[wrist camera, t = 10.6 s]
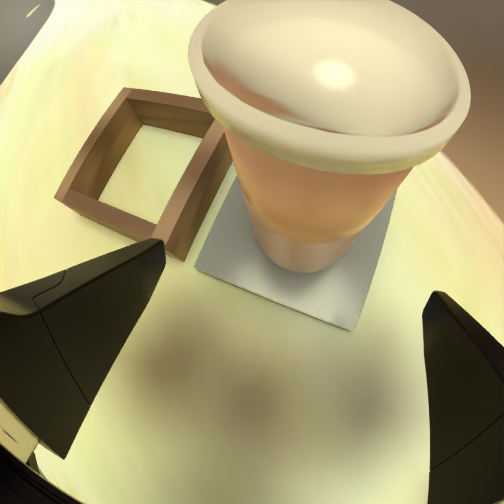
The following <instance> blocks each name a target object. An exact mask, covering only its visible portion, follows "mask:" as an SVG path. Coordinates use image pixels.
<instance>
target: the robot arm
mask: <svg viewBox="0 0 504 504" xmlns="http://www.w3.org/2000/svg"><path fill="white" fill-rule="evenodd" d="M165 264H166V257H165V244H164V241H163V240H162V239H157V238H149V239H147V240H144V241H141V242H138V243H135V244H132V245H130V246H127V247H124V248H121V249H118V250H116V251H113V252H110V253H107V254H105V255H102V256H99V257H97V258H94V259H91V260H89V261H86V262H83V263H81V264H78V265H76V266H73V267H70V268H68V269H67V270H63V271H60V272H57V273H55V274H52V275H50V276H47V277H44V278H41V279H38V280H36V281H33V282H30V283H27V284H24V285H21V286H18V287H15V288H12V289H9V290H6V291H3V292H0V504H85V503H83V502H81V501H80V500H78V499H76V498H75V497H73V496H71V495H70V494H68V493H66V492H65V491H63V490H62V489H60V488H59V487H57V486H56V485H54V484H53V483H51V482H50V481H48V480H47V479H45V478H44V477H43V476H41V475H40V473H39V469H38V465H37V461H36V457H35V453H34V450H35V448H36V447H37V445H38V443H39V444H41V445H42V446H44V447H45V448H46V449H48V450H49V451H51V452H52V453H54V454H55V455H57V456H59V457H60V458H62V459H63V460H64V459H65V458H66V456H67V454H68V452H69V450H70V447H71V445H72V443H73V441H74V439H75V437H76V435H77V433H78V431H79V429H80V427H81V425H82V423H83V421H84V419H85V417H86V415H87V413H88V411H89V409H90V407H91V406H90V405H92V403H93V401H94V399H95V397H96V395H97V393H98V391H99V389H100V387H101V385H102V384H103V382H104V380H105V378H106V376H107V374H108V372H109V371H110V369H111V367H112V365H113V363H114V361H115V360H116V358H117V356H118V354H119V352H120V351H121V349H122V347H123V345H124V344H125V342H126V340H127V338H128V337H129V335H130V333H131V331H132V330H133V328H134V326H135V325H136V323H137V321H138V319H139V318H140V316H141V314H142V313H143V311H144V309H145V308H146V306H147V304H148V302H149V300H150V298H151V296H152V294H153V292H154V289H155V287H156V285H157V283H158V281H159V279H160V276H161V274H162V272H163V270H164V268H165ZM422 321H423V341H424V359H425V368H426V377H427V388H428V401H429V419H430V472H429V490H428V503H427V504H504V347H503V346H502V345H501V344H500V343H499V342H498V341H497V340H496V339H495V338H494V337H493V336H492V335H491V334H490V333H489V332H488V331H487V330H486V329H485V328H484V327H483V326H482V325H480V324H479V323H478V322H477V321H476V320H475V319H474V318H473V317H472V316H471V315H470V314H469V313H468V312H466V311H465V310H464V309H463V308H462V307H461V306H460V305H459V304H458V303H456V302H455V301H454V300H453V299H452V298H451V297H450V296H448V295H447V294H446V293H445V292H441V291H433V292H432V294H431V296H430V298H429V300H428V302H427V304H426V306H425V308H424V310H423V314H422Z"/></svg>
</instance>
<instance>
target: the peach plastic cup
mask: <svg viewBox="0 0 504 504" xmlns="http://www.w3.org/2000/svg"><path fill="white" fill-rule="evenodd" d="M188 59H189V64H190V69H191V71H192V74H193V77H194V80H195V83H196V86H197V88H198V91H199V94H200V96H201V98H202V100H203V103H204V104H205V106H206V107H207V109H208V110H209V112H210V113H211V114H212V116H213V117H214V118H215V119H216V120H217V121H218V122H219V123H220V124H221V125H222V126H223V128H224V132H225V135H226V138H227V142H228V145H229V149H230V152H231V155H232V159H233V162H234V166H235V169H236V173H237V176H238V179H239V183H240V186H241V190H242V193H243V197H244V200H245V204H246V207H247V211H248V214H249V218H250V221H251V224H252V228H253V231H254V235H255V238H256V241H257V243H258V246H259V247H260V249H261V251H262V252H263V253H264V254H265V256H266V257H267V258H268V259H269V260H270V261H272V262H273V263H274V264H276V265H277V266H279V267H281V268H283V269H286V270H288V271H292V272H297V273H313V272H318V271H321V270H324V269H326V268H328V267H330V266H331V265H333V264H334V263H336V262H337V261H338V260H339V259H340V258H341V257H342V256H343V255H344V254H345V252H346V251H347V250H348V249H349V248H350V246H351V245H352V244H353V243H354V242H355V241H356V239H357V238H358V237H359V236H360V234H361V233H362V232H363V231H364V230H365V228H366V227H367V226H368V225H369V224H370V222H371V221H372V220H373V219H374V217H375V216H376V215H377V214H378V212H379V211H380V210H381V209H382V207H383V206H384V205H385V204H386V202H387V201H388V200H389V198H390V197H391V196H392V195H393V193H394V192H395V191H396V189H397V188H398V187H399V185H400V184H401V183H402V182H403V180H404V179H405V178H406V176H407V175H408V174H409V172H410V171H411V170H412V168H413V167H414V166H416V165H419V164H422V163H423V162H425V161H427V160H428V159H430V158H432V157H433V156H435V155H436V154H437V153H438V152H439V151H440V150H441V149H443V147H444V146H445V145H446V144H447V143H448V141H449V140H450V139H451V137H452V136H453V135H454V133H455V132H456V131H457V129H458V128H459V127H460V125H461V124H462V122H463V121H464V119H465V118H466V115H467V113H468V110H469V107H470V99H471V94H470V85H469V82H468V78H467V74H466V72H465V70H464V67H463V65H462V63H461V61H460V60H459V58H458V56H457V55H456V53H455V52H454V51H453V49H452V48H451V47H450V45H449V44H448V43H447V42H446V41H445V40H444V39H443V37H442V36H440V34H439V33H437V32H436V31H435V30H434V29H433V28H432V27H431V26H430V25H428V24H427V23H426V22H425V21H423V20H422V19H420V18H419V17H418V16H416V15H415V14H413V13H412V12H410V11H408V10H407V9H405V8H403V7H401V6H399V5H397V4H395V3H393V2H391V1H389V0H227V1H225V2H223V3H221V4H220V5H218V6H217V7H215V8H214V9H213V10H211V11H210V12H209V13H208V14H207V15H206V16H205V17H204V18H203V19H202V20H201V21H200V23H199V24H198V25H197V27H196V28H195V30H194V32H193V34H192V36H191V39H190V42H189V46H188Z"/></svg>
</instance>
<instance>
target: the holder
mask: <svg viewBox="0 0 504 504" xmlns="http://www.w3.org/2000/svg"><path fill="white" fill-rule="evenodd" d="M142 124H145V125H150V126H154V127H159V128H163V129H168V130H172V131H176V132H181V133H185V134H189V135H193V136H197V137H201V138H203V140H202V142H201V143H200V145H199V147H198V149H197V150H196V152H195V154H194V156H193V157H192V159H191V161H190V163H189V165H188V166H187V168H186V170H185V172H184V174H183V175H182V177H181V179H180V181H179V183H178V185H177V187H176V189H175V190H174V192H173V194H172V196H171V198H170V200H169V202H168V204H167V206H166V208H165V210H164V212H163V214H162V216H161V218H160V220H159V222H158V224H157V225H156V224H153V223H151V222H148V221H146V220H144V219H141V218H139V217H136V216H134V215H131V214H129V213H127V212H124V211H122V210H119V209H117V208H114V207H112V206H110V205H107V204H105V203H102V202H100V201H98V198H99V196H100V195H101V193H102V191H103V189H104V187H105V185H106V183H107V182H108V180H109V178H110V176H111V174H112V173H113V171H114V169H115V167H116V166H117V164H118V162H119V161H120V159H121V157H122V156H123V154H124V152H125V151H126V149H127V147H128V146H129V144H130V143H131V141H132V139H133V138H134V136H135V135H136V133H137V132H138V130H139V129H140V127H141V126H142ZM232 161H233V159H232V155H231V152H230V149H229V145H228V142H227V138H226V135H225V132H224V128H223V126H222V125H221V124H220V123H219V122H218V121H217V120H216V119H215V118H214V117H213V116H212V114H211V113H210V112H209V110H208V109H207V107H206V106H205V104H204V103H203V100H202V99H200V98H195V97H189V96H184V95H178V94H171V93H165V92H158V91H150V90H142V89H134V88H123V89H122V90H121V92H120V93H119V94H118V96H117V97H116V98H115V100H114V101H113V102H112V104H111V105H110V106H109V108H108V109H107V111H106V112H105V113H104V115H103V116H102V118H101V119H100V121H99V122H98V123H97V125H96V126H95V128H94V129H93V131H92V132H91V134H90V135H89V137H88V139H87V140H86V142H85V143H84V145H83V147H82V148H81V150H80V151H79V153H78V155H77V156H76V158H75V160H74V161H73V163H72V165H71V167H70V168H69V170H68V172H67V174H66V176H65V177H64V179H63V181H62V183H61V185H60V187H59V189H58V190H57V192H56V194H55V196H54V198H55V199H57V200H58V201H60V202H61V203H63V204H64V205H66V206H68V207H69V208H71V209H72V210H74V211H75V212H77V213H79V214H80V215H82V216H84V217H87V218H89V219H91V220H93V221H95V222H97V223H99V224H101V225H103V226H106V227H108V228H110V229H112V230H114V231H116V232H118V233H121V234H123V235H125V236H127V237H129V238H131V239H134V240H136V241H138V242H141V241H144V240H147V239H149V238H157V239H162V240H163V241H164V244H165V254H167V255H169V256H171V257H174V258H176V259H178V260H181V261H183V262H184V260H185V258H186V256H187V254H188V251H189V249H190V247H191V245H192V243H193V241H194V238H195V236H196V234H197V232H198V230H199V228H200V226H201V224H202V222H203V219H204V217H205V215H206V213H207V211H208V209H209V207H210V205H211V203H212V201H213V199H214V197H215V195H216V193H217V191H218V189H219V187H220V185H221V183H222V181H223V179H224V177H225V175H226V173H227V171H228V169H229V167H230V165H231V163H232Z"/></svg>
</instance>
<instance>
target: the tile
mask: <svg viewBox="0 0 504 504" xmlns="http://www.w3.org/2000/svg"><path fill="white" fill-rule="evenodd" d="M396 191H397V189H396ZM396 191H395V192H394V193H393V195H392V196H391V197H390V198H389V200H388V201H387V202H386V204H385V205H384V206H383V207H382V209H381V210H380V211H379V212H378V214H377V215H376V216H375V217H374V219H373V220H372V221H371V222H370V224H369V225H368V226H367V227H366V228H365V230H364V231H363V232H362V233H361V234H360V236H359V237H358V238H357V239H356V241H355V242H354V243H353V244H352V245H351V246H350V248H349V249H348V250H347V251H346V252H345V254H344V255H343V256H342V257H341V258H340V259H339V260H338V261H337V262H336V263H334V264H333V265H331V266H330V267H328V268H326V269H324V270H321V271H318V272H313V273H297V272H292V271H288V270H286V269H283V268H281V267H279V266H277V265H276V264H274V263H273V262H272V261H270V260H269V259H268V258H267V257H266V256H265V254H264V253H263V252H262V251H261V249H260V247H259V246H258V243H257V241H256V238H255V235H254V231H253V228H252V224H251V221H250V218H249V214H248V211H247V207H246V204H245V200H244V197H243V193H242V190H241V186H240V183H239V179H238V176H236V178H235V180H234V182H233V184H232V186H231V188H230V191H229V193H228V195H227V197H226V199H225V201H224V203H223V205H222V207H221V209H220V211H219V213H218V215H217V218H216V220H215V222H214V224H213V226H212V228H211V230H210V233H209V235H208V237H207V239H206V241H205V243H204V246H203V248H202V250H201V252H200V254H199V256H198V259H197V261H196V263H195V265H194V267H195V268H196V269H198V270H200V271H202V272H204V273H207V274H209V275H211V276H214V277H216V278H218V279H221V280H223V281H225V282H228V283H230V284H232V285H235V286H237V287H240V288H242V289H244V290H247V291H249V292H252V293H254V294H257V295H259V296H261V297H264V298H266V299H269V300H271V301H274V302H276V303H279V304H281V305H284V306H286V307H289V308H291V309H294V310H296V311H299V312H301V313H304V314H307V315H309V316H312V317H314V318H317V319H319V320H322V321H325V322H327V323H330V324H332V325H335V326H338V327H340V328H343V329H346V330H348V331H354V329H355V327H356V324H357V321H358V319H359V316H360V313H361V311H362V308H363V305H364V302H365V299H366V296H367V293H368V290H369V287H370V284H371V281H372V278H373V275H374V272H375V269H376V266H377V262H378V259H379V256H380V252H381V249H382V246H383V242H384V239H385V235H386V231H387V228H388V224H389V220H390V216H391V212H392V208H393V204H394V200H395V195H396Z"/></svg>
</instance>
